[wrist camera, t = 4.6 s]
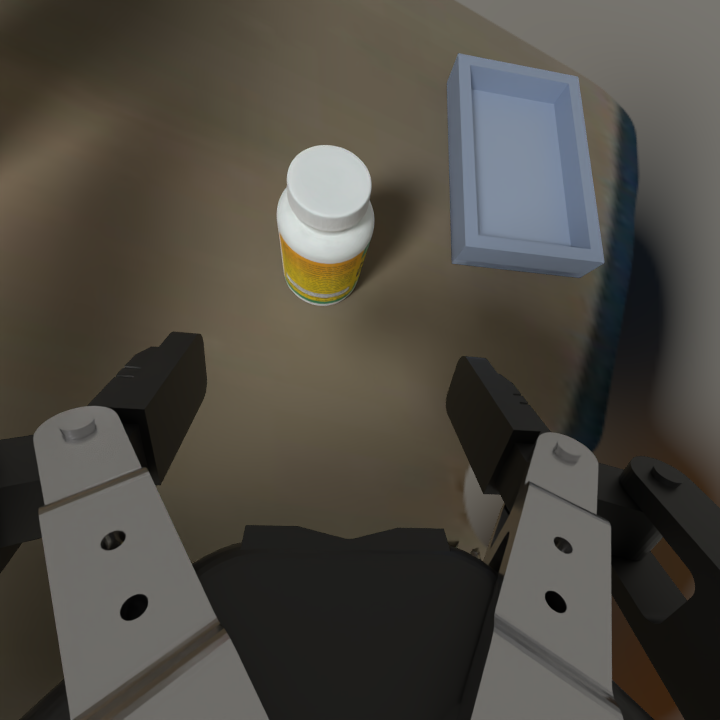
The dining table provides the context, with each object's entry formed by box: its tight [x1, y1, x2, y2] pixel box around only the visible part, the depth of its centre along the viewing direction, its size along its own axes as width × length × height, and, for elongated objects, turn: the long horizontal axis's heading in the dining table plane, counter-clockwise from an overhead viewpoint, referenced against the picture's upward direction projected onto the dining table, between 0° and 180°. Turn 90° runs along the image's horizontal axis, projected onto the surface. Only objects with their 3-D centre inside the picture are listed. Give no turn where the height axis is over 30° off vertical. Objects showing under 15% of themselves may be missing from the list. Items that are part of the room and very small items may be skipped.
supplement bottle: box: [277, 145, 374, 306], centre depth 21 cm, size 5×5×10 cm
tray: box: [447, 53, 604, 278], centre depth 29 cm, size 18×11×2 cm, turn 178°
